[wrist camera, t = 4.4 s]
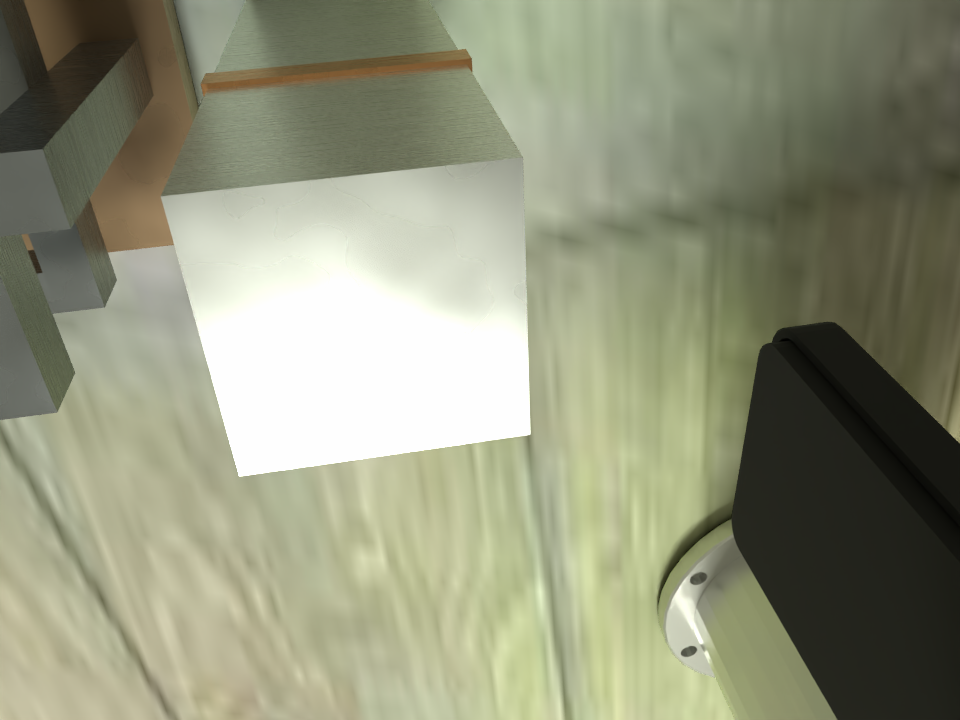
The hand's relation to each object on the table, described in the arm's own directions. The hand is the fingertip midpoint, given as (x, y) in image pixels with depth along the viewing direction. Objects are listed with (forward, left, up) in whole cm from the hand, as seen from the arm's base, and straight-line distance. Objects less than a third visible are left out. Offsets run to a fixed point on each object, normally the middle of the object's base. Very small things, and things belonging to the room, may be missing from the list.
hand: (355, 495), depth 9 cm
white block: (0, +1, -20) cm, 20 cm away
